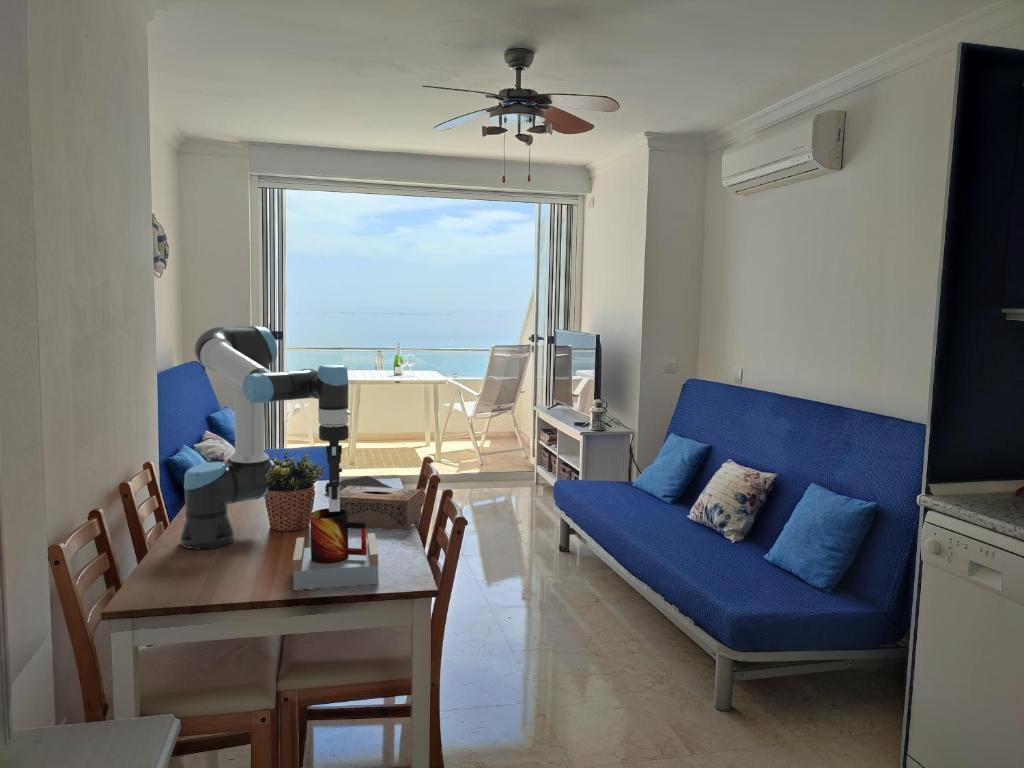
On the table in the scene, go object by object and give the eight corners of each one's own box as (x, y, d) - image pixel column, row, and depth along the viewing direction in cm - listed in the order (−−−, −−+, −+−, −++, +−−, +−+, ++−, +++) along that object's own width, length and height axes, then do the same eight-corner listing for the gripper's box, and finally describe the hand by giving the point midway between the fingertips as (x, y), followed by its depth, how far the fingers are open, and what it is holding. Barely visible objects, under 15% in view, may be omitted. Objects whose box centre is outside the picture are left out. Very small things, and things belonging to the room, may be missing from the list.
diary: (353, 510, 261) (352, 496, 260) (325, 495, 281) (324, 482, 280) (400, 501, 272) (400, 488, 271) (370, 487, 292) (370, 475, 291)
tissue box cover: (421, 518, 250) (420, 489, 249) (407, 531, 236) (407, 500, 235) (349, 514, 255) (348, 485, 254) (331, 526, 241) (331, 496, 240)
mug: (367, 559, 194) (366, 515, 193) (312, 565, 190) (311, 520, 188) (361, 548, 203) (361, 505, 202) (309, 553, 199) (308, 510, 198)
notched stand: (293, 590, 186) (292, 559, 185) (297, 566, 203) (296, 537, 203) (378, 584, 191) (377, 554, 190) (375, 560, 208) (374, 532, 207)
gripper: (349, 432, 181) (349, 516, 184) (348, 416, 206) (348, 490, 208) (317, 433, 180) (318, 518, 182) (320, 416, 204) (321, 492, 206)
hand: (334, 503), depth 195 cm, fingers open, 13 cm apart
